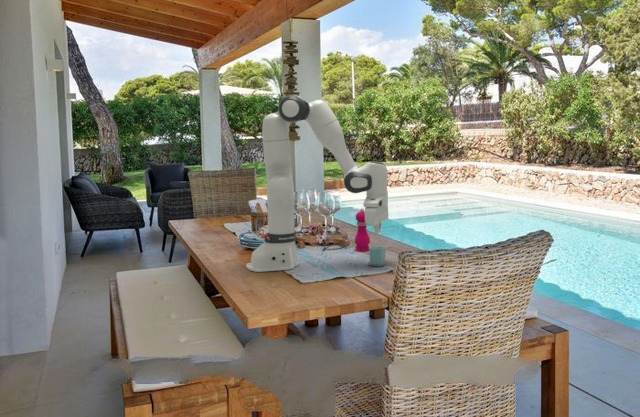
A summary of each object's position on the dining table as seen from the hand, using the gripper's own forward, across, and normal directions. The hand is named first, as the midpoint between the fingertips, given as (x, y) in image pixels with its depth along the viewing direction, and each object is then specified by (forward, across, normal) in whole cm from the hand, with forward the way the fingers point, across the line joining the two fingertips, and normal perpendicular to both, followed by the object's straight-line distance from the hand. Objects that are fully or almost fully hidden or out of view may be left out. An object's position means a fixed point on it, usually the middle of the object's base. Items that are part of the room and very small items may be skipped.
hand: (377, 233), depth 247 cm
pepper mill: (+14, -25, -16) cm, 32 cm away
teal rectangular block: (+13, 0, 0) cm, 13 cm away
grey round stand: (+14, 0, 0) cm, 14 cm away
